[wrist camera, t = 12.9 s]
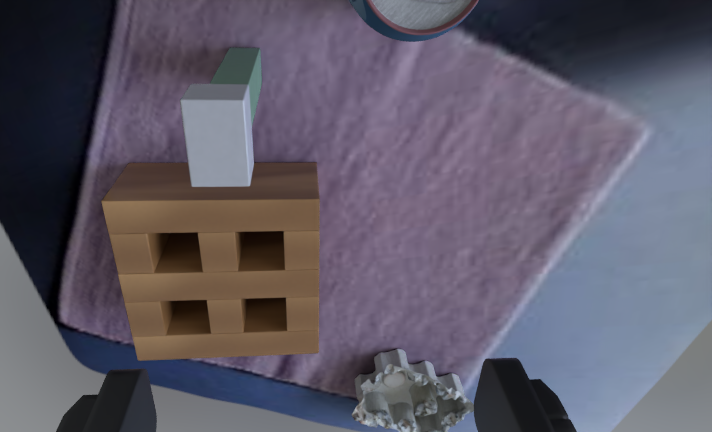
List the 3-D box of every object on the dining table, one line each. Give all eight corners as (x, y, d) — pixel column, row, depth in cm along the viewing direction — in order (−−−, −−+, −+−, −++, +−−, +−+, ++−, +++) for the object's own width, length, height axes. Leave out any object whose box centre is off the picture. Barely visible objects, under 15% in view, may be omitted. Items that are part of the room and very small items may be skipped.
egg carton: (343, 385, 51) (346, 419, 47) (391, 336, 48) (398, 369, 44) (422, 423, 54) (431, 457, 51) (471, 380, 52) (484, 413, 48)
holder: (128, 162, 37) (100, 201, 32) (316, 162, 39) (319, 199, 33) (156, 309, 44) (137, 361, 39) (316, 304, 45) (318, 353, 40)
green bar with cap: (223, 34, 34) (179, 99, 21) (264, 35, 34) (243, 100, 21) (228, 95, 35) (191, 187, 23) (266, 95, 36) (250, 187, 23)
